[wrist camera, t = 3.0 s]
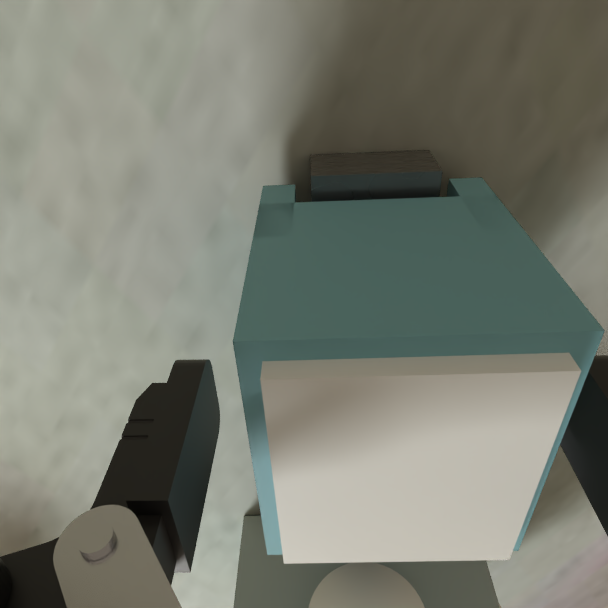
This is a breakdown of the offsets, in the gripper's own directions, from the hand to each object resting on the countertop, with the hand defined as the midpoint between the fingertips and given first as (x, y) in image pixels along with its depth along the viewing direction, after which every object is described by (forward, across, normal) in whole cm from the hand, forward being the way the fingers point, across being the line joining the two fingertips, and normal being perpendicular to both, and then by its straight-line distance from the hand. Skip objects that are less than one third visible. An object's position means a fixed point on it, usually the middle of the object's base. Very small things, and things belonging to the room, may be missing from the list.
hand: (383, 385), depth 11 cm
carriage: (+4, 0, -1) cm, 4 cm away
